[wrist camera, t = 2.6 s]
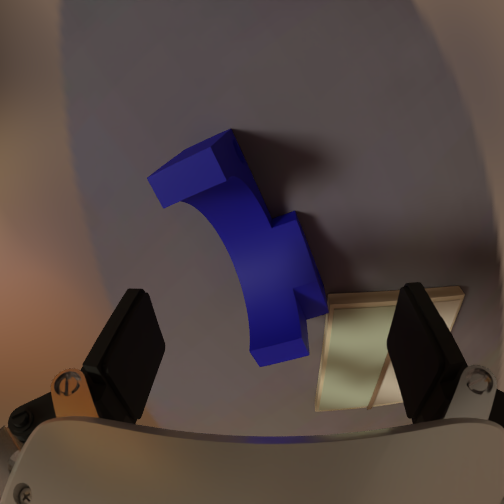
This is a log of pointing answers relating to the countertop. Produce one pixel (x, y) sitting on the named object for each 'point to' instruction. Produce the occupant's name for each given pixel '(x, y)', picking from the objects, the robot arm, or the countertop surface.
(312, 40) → the countertop surface
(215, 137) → the cable clip
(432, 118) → the countertop surface
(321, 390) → the board
